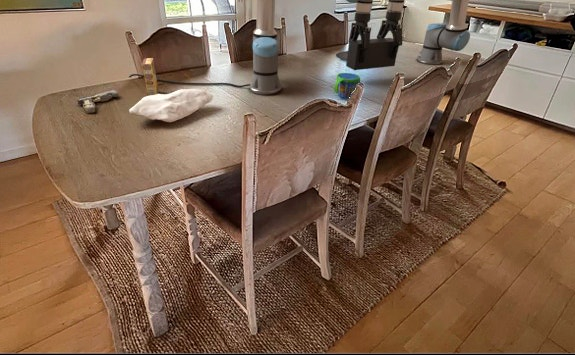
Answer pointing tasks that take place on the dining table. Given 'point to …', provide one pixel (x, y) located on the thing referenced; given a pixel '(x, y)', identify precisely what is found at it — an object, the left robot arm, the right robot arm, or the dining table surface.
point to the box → (371, 54)
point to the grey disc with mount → (342, 55)
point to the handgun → (95, 100)
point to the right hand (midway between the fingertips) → (386, 56)
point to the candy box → (150, 76)
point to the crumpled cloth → (171, 104)
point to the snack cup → (346, 84)
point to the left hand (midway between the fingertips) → (356, 60)
